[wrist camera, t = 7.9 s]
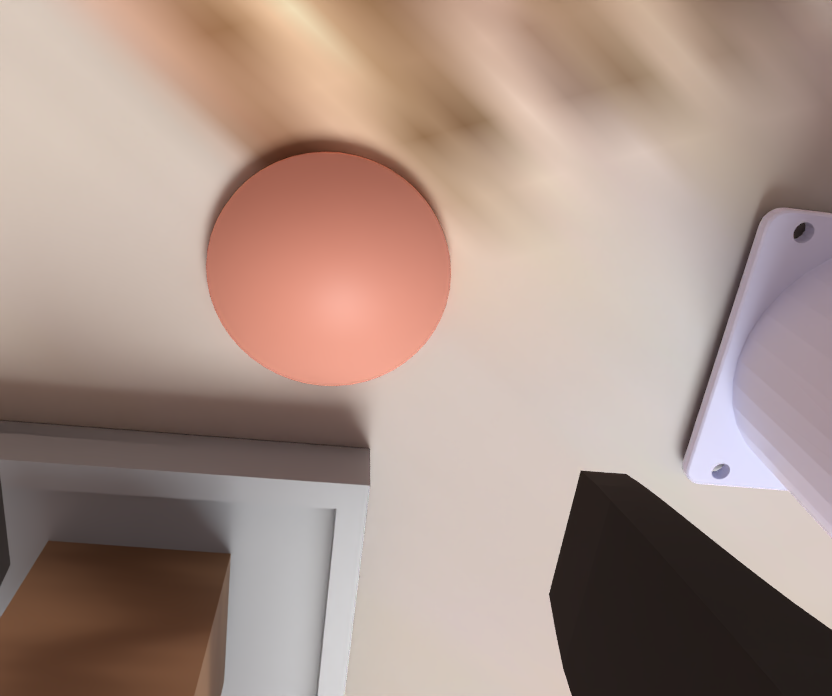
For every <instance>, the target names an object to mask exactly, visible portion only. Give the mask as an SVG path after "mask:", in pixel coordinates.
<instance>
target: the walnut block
mask: <svg viewBox="0 0 832 696" xmlns="http://www.w3.org/2000/svg"><path fill="white" fill-rule="evenodd" d="M230 561H231V554H228V553H214V552H200V551H186V550H172V549H158V548H144V547H130V546H116V545H102V544H88V543H74V542H60V541H48V542H47V544H46V545H45V547H44V548H43V550H42V552H41V553H40V555H39V556H38V558H37V560H36V561H35V563H34V564H33V566H32V568H31V569H30V571H29V572H28V574H27V576H26V577H25V579H24V581H23V582H22V584H21V585H20V587H19V589H18V590H17V592H16V593H15V595H14V597H13V598H12V600H11V601H10V603H9V605H8V606H7V608H6V609H5V611H4V613H3V614H2V616H1V618H0V696H221V693H222V689H223V684H224V675H225V656H226V637H227V618H228V599H229V580H230Z"/></svg>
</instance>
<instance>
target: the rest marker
mask: <svg viewBox="0 0 832 696" xmlns="http://www.w3.org/2000/svg"><path fill="white" fill-rule="evenodd" d="M206 269H207V282H208V287H209V292H210V297H211V299H212V302H213V305H214V308H215V311H216V313H217V315H218V317H219V319H220V321H221V323H222V325H223V326H224V328H225V329H226V331H227V332H228V334H229V335H230V337H231V338H232V339H233V340H234V341H235V342H236V343H237V345H238V346H239V347H240V348H241V349H242V350H243V351H244V352H246V353H247V354H248V355H249V356H250V357H251V358H252V359H254V360H255V361H257V362H258V363H259V364H261V365H262V366H264V367H265V368H267V369H269V370H271V371H273V372H275V373H277V374H279V375H281V376H284V377H287V378H289V379H292V380H295V381H299V382H303V383H307V384H314V385H322V386H340V385H351V384H356V383H361V382H365V381H368V380H371V379H374V378H377V377H380V376H382V375H384V374H386V373H388V372H390V371H392V370H394V369H396V368H397V367H399V366H400V365H402V364H403V363H405V362H406V361H407V360H408V359H410V358H411V357H412V356H413V355H414V354H416V353H417V352H418V351H419V349H420V348H421V347H422V346H423V345H424V344H425V343H426V342H427V340H428V339H429V338H430V336H431V335H432V333H433V332H434V330H435V329H436V327H437V325H438V323H439V321H440V319H441V317H442V314H443V312H444V309H445V306H446V303H447V299H448V294H449V290H450V278H451V269H450V257H449V252H448V246H447V243H446V240H445V237H444V234H443V231H442V228H441V226H440V224H439V222H438V220H437V218H436V216H435V214H434V212H433V210H432V209H431V207H430V206H429V204H428V203H427V201H426V200H425V199H424V198H423V197H422V195H421V194H420V193H419V192H418V191H417V190H416V189H415V188H414V187H413V186H412V185H411V184H410V183H409V182H407V181H406V180H405V179H404V178H403V177H402V176H400V175H398V174H397V173H395V172H394V171H392V170H391V169H389V168H388V167H385V166H383V165H381V164H379V163H377V162H375V161H373V160H370V159H367V158H364V157H361V156H358V155H352V154H347V153H342V152H325V151H323V152H311V153H304V154H300V155H295V156H291V157H288V158H285V159H282V160H280V161H277V162H275V163H273V164H271V165H269V166H267V167H265V168H263V169H262V170H260V171H259V172H257V173H256V174H255V175H253V176H252V177H250V178H249V179H248V180H247V181H246V182H245V183H244V184H243V185H242V186H241V187H240V188H239V189H237V190H236V192H235V193H234V194H233V196H232V197H231V198H230V199H229V201H228V202H227V203H226V205H225V206H224V208H223V209H222V211H221V213H220V215H219V217H218V218H217V220H216V223H215V226H214V228H213V231H212V233H211V237H210V241H209V246H208V251H207V263H206Z"/></svg>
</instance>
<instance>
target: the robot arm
mask: <svg viewBox="0 0 832 696" xmlns="http://www.w3.org/2000/svg"><path fill="white" fill-rule="evenodd" d="M801 223H805V224H806V225H805V231H804V232H803V234H802V235H801V236H800V237H798V238H796V239H794V238H793V234H794V230H795V229H796V227H797V226H798V225H800V224H801ZM718 464H724V465H723V466H722V468H721V469H719V470H718V471H713V472H712V470H713V469H714V467H715V466H717V465H718ZM682 469H683V471H684V473H685V475H686V476H687V477H688V479H689V480H691V481H692V482H693V483H697V484H706V485H720V486H733V487H746V488H760V489H773V490H786V491H789V492H790V493H791V494H792V495H793V497H794V498H795V499H796V500H797V501H798V502H799V503H800V504H801V505H802V506H803V507H804V509H805V510H806V511H807V512H808V513H809V514H810V515H811V516H812V517H813V518H814V519H815V521H816V522H817V523H818V524H819V525H820V526H821V527H822V528H823V529H824V530H825V531H826V533H827V534H828V535H829V536H830V537H831V538H832V213H826V212H818V211H810V210H802V209H793V208H785V207H783V208H776V209H773V210H771V211H769V212H768V213H767V214H766V215H765V216H764V217H763V218H762V220H761V222H760V224H759V226H758V229H757V232H756V236H755V239H754V242H753V245H752V248H751V251H750V254H749V257H748V261H747V264H746V267H745V270H744V273H743V276H742V279H741V282H740V285H739V289H738V292H737V295H736V298H735V301H734V304H733V307H732V310H731V314H730V317H729V320H728V323H727V326H726V329H725V332H724V335H723V338H722V342H721V345H720V348H719V351H718V354H717V357H716V360H715V363H714V367H713V370H712V373H711V376H710V379H709V382H708V385H707V388H706V391H705V395H704V398H703V401H702V404H701V407H700V410H699V413H698V416H697V419H696V423H695V426H694V429H693V432H692V435H691V438H690V441H689V444H688V448H687V451H686V454H685V457H684V460H683V465H682ZM9 566H10V555H9V547H8V538H7V530H6V521H5V513H4V504H3V496H2V487H1V479H0V586H1V584H2V582H3V580H4V577H5V575H6V573H7V571H8V569H9ZM549 596H550V602H551V608H552V613H553V619H554V624H555V630H556V635H557V640H558V645H559V650H560V655H561V660H562V664H563V669H564V672H565V675H566V679H567V682H568V685H569V688H570V691H571V694H572V696H832V630H831V629H830V628H828V627H827V626H825V625H824V624H823V623H821V622H820V621H818V620H817V619H816V618H814V617H813V616H811V615H810V614H809V613H807V612H806V611H804V610H803V609H802V608H800V607H799V606H797V605H796V604H795V603H793V602H792V601H791V600H789V599H788V598H787V597H785V596H784V595H783V594H781V593H780V592H779V591H777V590H776V589H775V588H773V587H772V586H771V585H769V584H768V583H767V582H765V581H764V580H763V579H761V578H760V577H759V576H758V575H756V574H755V573H754V572H752V571H751V570H750V569H748V568H747V567H746V566H745V565H743V564H742V563H741V562H740V561H738V560H737V559H736V558H734V557H733V556H732V555H731V554H729V553H728V552H727V551H726V550H724V549H723V548H722V547H720V546H719V545H718V544H717V543H715V542H714V541H713V540H712V539H710V538H709V537H708V536H707V535H705V534H704V533H703V532H702V531H700V530H699V529H698V528H697V527H695V526H694V525H693V524H692V523H690V522H689V521H688V520H687V519H685V518H684V517H683V516H682V515H680V514H679V513H678V512H677V511H675V510H674V509H673V508H672V507H670V506H669V505H668V504H667V503H665V502H664V501H663V500H661V499H660V498H659V497H658V496H656V495H655V494H654V493H652V492H651V491H650V490H648V489H647V488H646V487H644V486H643V485H642V484H640V483H639V482H637V481H636V480H634V479H633V478H631V477H630V476H628V475H627V474H617V473H604V472H591V471H581V472H580V476H579V480H578V484H577V488H576V492H575V496H574V500H573V503H572V507H571V511H570V515H569V519H568V523H567V527H566V531H565V535H564V538H563V542H562V546H561V550H560V554H559V558H558V562H557V566H556V570H555V573H554V577H553V581H552V585H551V589H550V593H549Z"/></svg>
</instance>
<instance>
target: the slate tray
mask: <svg viewBox="0 0 832 696" xmlns="http://www.w3.org/2000/svg"><path fill="white" fill-rule="evenodd" d="M0 479H1V487H2V496H3V504H4V513H5V521H6V530H7V538H8V547H9V555H10V566H9V569H8V571H7V573H6V575H5V577H4V580H3V582H2V584H1V586H0V618H1V616H2V614H3V613H4V611H5V609H6V608H7V606H8V605H9V603H10V601H11V600H12V598H13V597H14V595H15V593H16V592H17V590H18V589H19V587H20V585H21V584H22V582H23V581H24V579H25V577H26V576H27V574H28V572H29V571H30V569H31V568H32V566H33V564H34V563H35V561H36V560H37V558H38V556H39V555H40V553H41V552H42V550H43V548H44V547H45V545H46V544H47V542H48V541H60V542H74V543H88V544H102V545H116V546H130V547H144V548H158V549H172V550H186V551H200V552H214V553H228V554H231V561H230V580H229V599H228V618H227V637H226V656H225V675H224V684H223V689H222V693H221V696H345V688H346V679H347V671H348V663H349V655H350V647H351V639H352V630H353V622H354V614H355V606H356V598H357V589H358V581H359V573H360V565H361V557H362V549H363V540H364V532H365V524H366V516H367V508H368V500H369V491H370V449H367V448H354V447H341V446H328V445H315V444H302V443H289V442H276V441H263V440H250V439H236V438H223V437H210V436H197V435H184V434H171V433H158V432H145V431H132V430H119V429H106V428H93V427H79V426H66V425H53V424H40V423H27V422H14V421H1V420H0Z"/></svg>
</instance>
